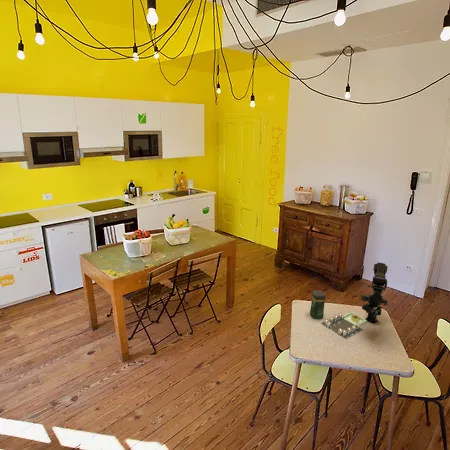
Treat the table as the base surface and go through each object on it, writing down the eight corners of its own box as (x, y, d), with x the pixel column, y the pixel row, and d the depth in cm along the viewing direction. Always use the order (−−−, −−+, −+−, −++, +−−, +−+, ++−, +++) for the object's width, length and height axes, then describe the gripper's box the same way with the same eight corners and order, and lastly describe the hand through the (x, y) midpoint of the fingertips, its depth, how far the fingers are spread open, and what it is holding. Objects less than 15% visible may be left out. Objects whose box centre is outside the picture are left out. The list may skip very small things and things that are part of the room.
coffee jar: (324, 319, 230) (327, 295, 224) (313, 320, 228) (316, 296, 223) (318, 312, 239) (321, 288, 233) (308, 312, 238) (310, 289, 232)
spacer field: (337, 316, 234) (338, 310, 233) (363, 330, 219) (364, 325, 218) (320, 324, 224) (321, 318, 223) (345, 340, 209) (346, 334, 208)
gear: (354, 316, 233) (354, 313, 232) (361, 320, 228) (361, 317, 228) (348, 319, 230) (349, 316, 229) (355, 323, 225) (356, 320, 225)
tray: (350, 315, 236) (351, 312, 235) (366, 323, 227) (366, 320, 226) (342, 318, 231) (343, 315, 231) (358, 327, 222) (358, 324, 221)
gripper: (373, 285, 219) (370, 306, 224) (356, 293, 209) (352, 315, 214) (390, 292, 211) (385, 314, 215) (372, 301, 200) (368, 323, 205)
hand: (372, 316), depth 213 cm, fingers closed
